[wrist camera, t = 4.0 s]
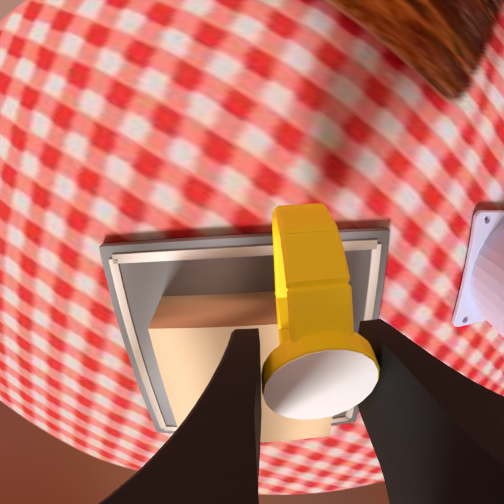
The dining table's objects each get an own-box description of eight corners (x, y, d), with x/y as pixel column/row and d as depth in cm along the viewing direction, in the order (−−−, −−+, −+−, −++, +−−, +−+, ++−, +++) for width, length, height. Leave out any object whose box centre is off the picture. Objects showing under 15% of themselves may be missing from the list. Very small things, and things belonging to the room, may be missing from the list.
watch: (324, 314, 14) (357, 438, 8) (259, 320, 14) (267, 450, 8) (332, 177, 10) (408, 287, 5) (247, 182, 10) (253, 304, 5)
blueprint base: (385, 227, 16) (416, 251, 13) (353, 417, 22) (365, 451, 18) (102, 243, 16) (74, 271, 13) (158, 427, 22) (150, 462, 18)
